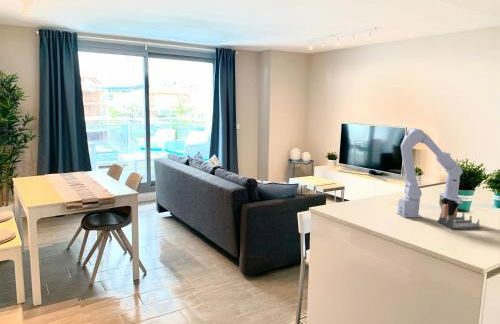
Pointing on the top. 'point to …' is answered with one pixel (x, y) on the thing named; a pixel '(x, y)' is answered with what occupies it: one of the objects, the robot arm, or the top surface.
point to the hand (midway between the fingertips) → (448, 214)
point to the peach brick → (445, 211)
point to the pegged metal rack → (458, 222)
